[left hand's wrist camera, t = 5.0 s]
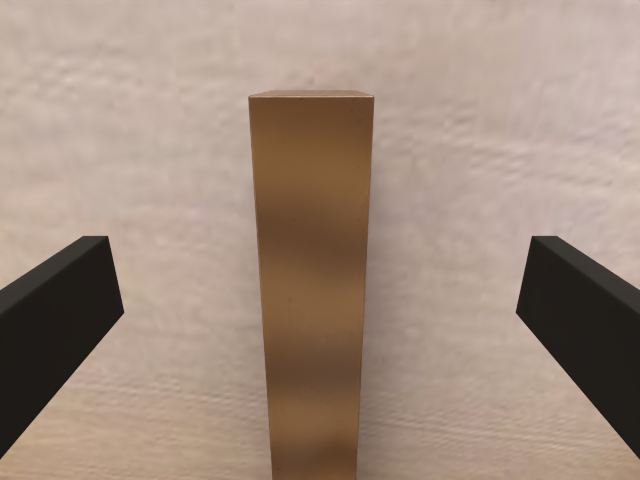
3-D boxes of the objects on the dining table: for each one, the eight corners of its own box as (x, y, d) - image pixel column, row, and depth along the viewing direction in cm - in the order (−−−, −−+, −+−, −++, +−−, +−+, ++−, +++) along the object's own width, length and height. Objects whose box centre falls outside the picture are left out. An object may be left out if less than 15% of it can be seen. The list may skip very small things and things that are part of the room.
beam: (270, 90, 22) (247, 95, 15) (356, 90, 22) (374, 95, 15) (293, 617, 41) (288, 729, 34) (339, 617, 41) (343, 729, 34)
